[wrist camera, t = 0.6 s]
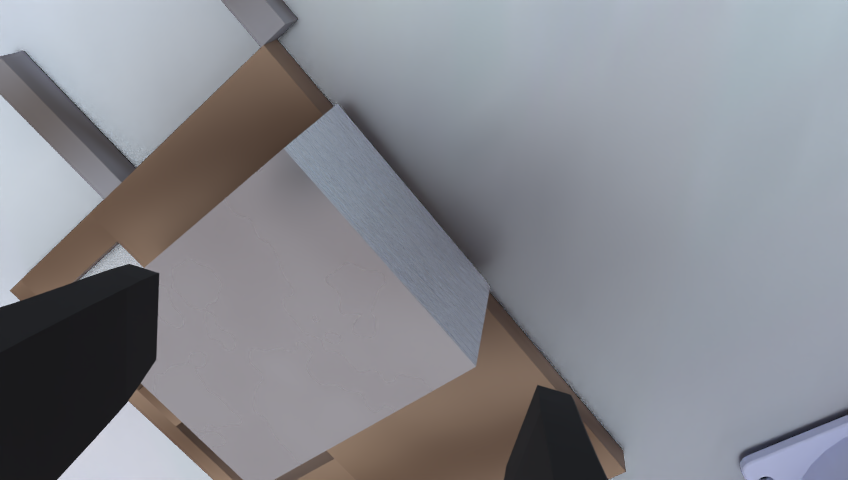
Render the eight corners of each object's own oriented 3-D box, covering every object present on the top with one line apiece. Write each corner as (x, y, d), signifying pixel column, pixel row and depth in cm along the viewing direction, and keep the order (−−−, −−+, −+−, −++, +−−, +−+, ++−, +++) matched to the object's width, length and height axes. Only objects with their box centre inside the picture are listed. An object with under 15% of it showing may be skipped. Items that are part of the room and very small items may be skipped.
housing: (490, 285, 20) (476, 366, 16) (301, 401, 23) (254, 490, 20) (337, 103, 18) (283, 148, 15) (158, 256, 22) (78, 324, 18)
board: (645, 440, 23) (657, 508, 20) (344, 574, 29) (322, 640, 26) (172, -134, 18) (104, -144, 15) (-78, 176, 24) (-159, 208, 21)
